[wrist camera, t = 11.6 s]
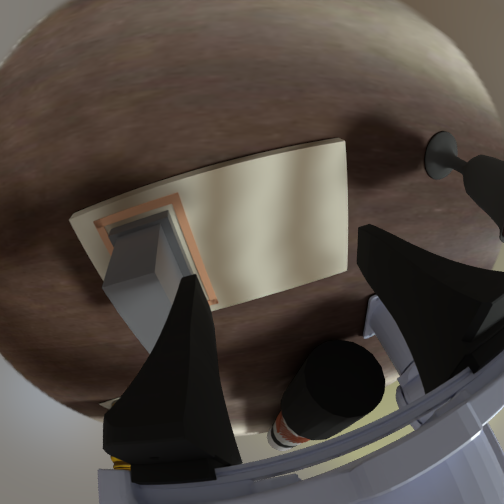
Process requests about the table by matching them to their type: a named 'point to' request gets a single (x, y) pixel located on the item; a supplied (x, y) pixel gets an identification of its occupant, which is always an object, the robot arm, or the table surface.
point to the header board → (239, 221)
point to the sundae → (470, 175)
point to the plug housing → (143, 282)
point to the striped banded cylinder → (328, 394)
